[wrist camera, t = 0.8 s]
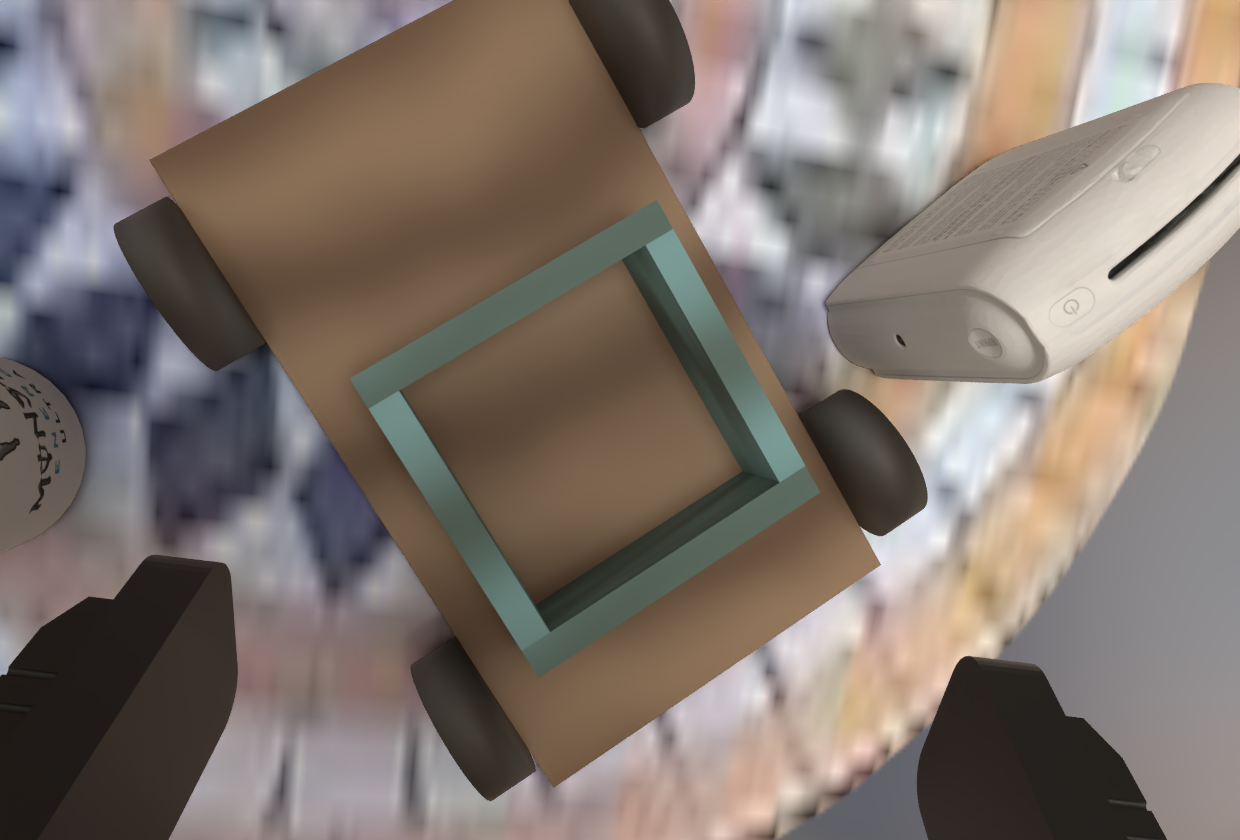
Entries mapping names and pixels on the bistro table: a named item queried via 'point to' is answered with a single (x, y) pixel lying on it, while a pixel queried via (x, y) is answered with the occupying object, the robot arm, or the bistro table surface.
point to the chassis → (526, 366)
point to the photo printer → (1049, 246)
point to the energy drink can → (35, 454)
